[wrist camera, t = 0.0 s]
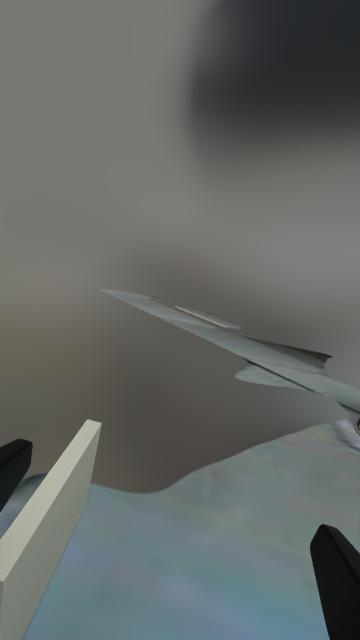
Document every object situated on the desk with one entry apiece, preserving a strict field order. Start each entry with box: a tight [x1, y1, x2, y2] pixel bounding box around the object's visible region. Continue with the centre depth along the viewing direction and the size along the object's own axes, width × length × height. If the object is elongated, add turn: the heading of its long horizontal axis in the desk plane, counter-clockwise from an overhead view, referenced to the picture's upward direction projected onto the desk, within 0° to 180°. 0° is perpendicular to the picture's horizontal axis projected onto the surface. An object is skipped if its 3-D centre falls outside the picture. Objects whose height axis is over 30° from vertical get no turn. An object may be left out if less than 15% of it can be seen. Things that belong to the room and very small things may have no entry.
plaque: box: [0, 420, 101, 640], centre depth 16 cm, size 10×2×9 cm, turn 175°
